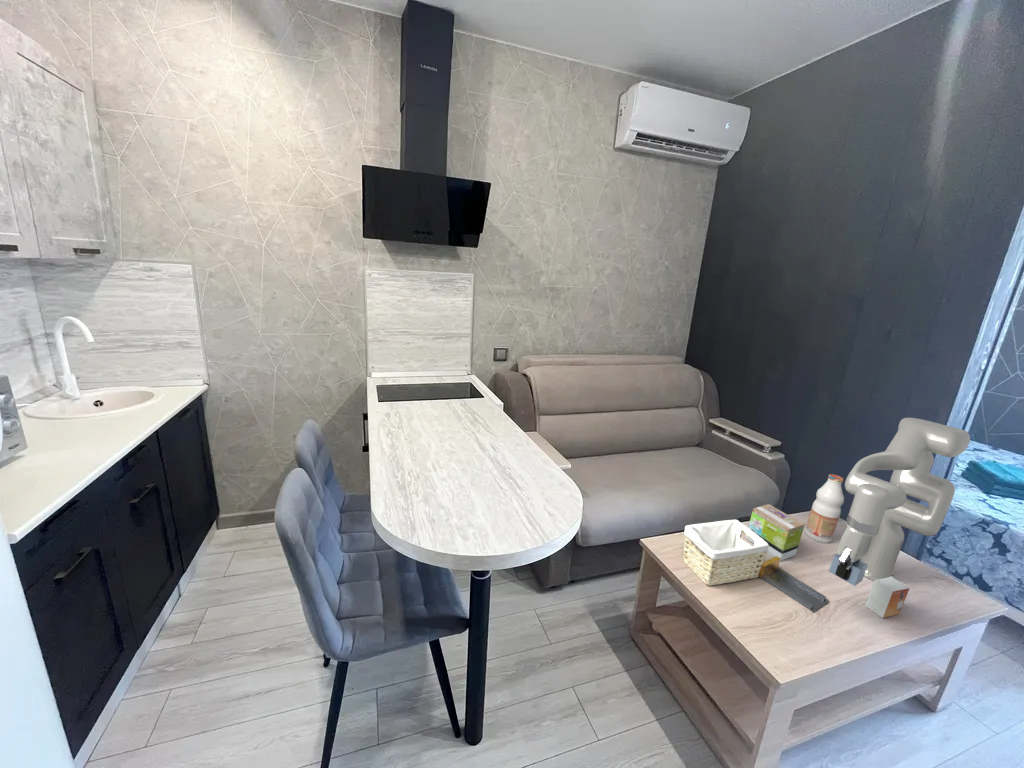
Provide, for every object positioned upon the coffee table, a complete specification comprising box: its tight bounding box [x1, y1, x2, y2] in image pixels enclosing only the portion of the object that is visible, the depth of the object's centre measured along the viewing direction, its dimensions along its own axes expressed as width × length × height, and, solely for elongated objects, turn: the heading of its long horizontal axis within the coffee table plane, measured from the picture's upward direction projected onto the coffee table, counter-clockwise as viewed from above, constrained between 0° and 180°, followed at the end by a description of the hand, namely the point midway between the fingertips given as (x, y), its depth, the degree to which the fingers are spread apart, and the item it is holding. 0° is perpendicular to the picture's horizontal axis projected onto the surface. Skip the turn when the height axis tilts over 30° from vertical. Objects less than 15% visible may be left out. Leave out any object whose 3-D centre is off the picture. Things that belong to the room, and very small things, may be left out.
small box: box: [865, 577, 910, 619], centre depth 137 cm, size 8×6×10 cm
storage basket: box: [682, 519, 768, 586], centre depth 151 cm, size 24×16×15 cm
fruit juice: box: [804, 473, 845, 544], centre depth 173 cm, size 9×9×28 cm
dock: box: [758, 556, 830, 613], centre depth 145 cm, size 10×18×5 cm, turn 30°
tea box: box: [745, 503, 806, 562], centre depth 165 cm, size 15×10×15 cm, turn 25°
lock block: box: [828, 553, 868, 587], centre depth 131 cm, size 5×7×6 cm
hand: (845, 574), depth 131 cm, fingers closed on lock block, 5 cm apart
